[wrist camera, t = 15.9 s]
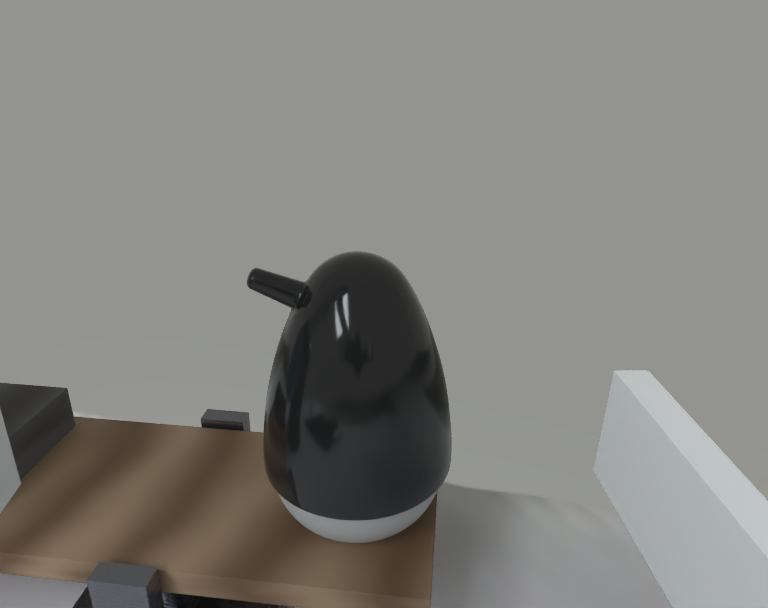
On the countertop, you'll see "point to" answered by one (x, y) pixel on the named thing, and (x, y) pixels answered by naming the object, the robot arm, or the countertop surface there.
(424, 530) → the balance beam
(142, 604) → the pivot stand
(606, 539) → the countertop surface
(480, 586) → the countertop surface
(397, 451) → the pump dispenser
